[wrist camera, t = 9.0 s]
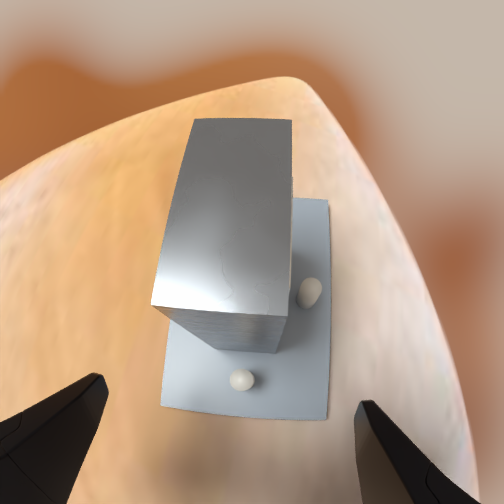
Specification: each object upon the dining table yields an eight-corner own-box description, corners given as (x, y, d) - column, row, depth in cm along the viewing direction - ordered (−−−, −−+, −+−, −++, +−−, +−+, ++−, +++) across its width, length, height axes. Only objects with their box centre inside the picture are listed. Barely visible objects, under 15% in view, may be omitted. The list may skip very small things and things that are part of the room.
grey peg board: (323, 418, 16) (335, 425, 13) (164, 404, 17) (145, 408, 14) (326, 205, 23) (334, 179, 20) (194, 199, 23) (185, 173, 20)
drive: (277, 353, 18) (293, 316, 8) (215, 349, 18) (150, 304, 8) (283, 247, 20) (295, 119, 10) (227, 244, 21) (194, 118, 11)
